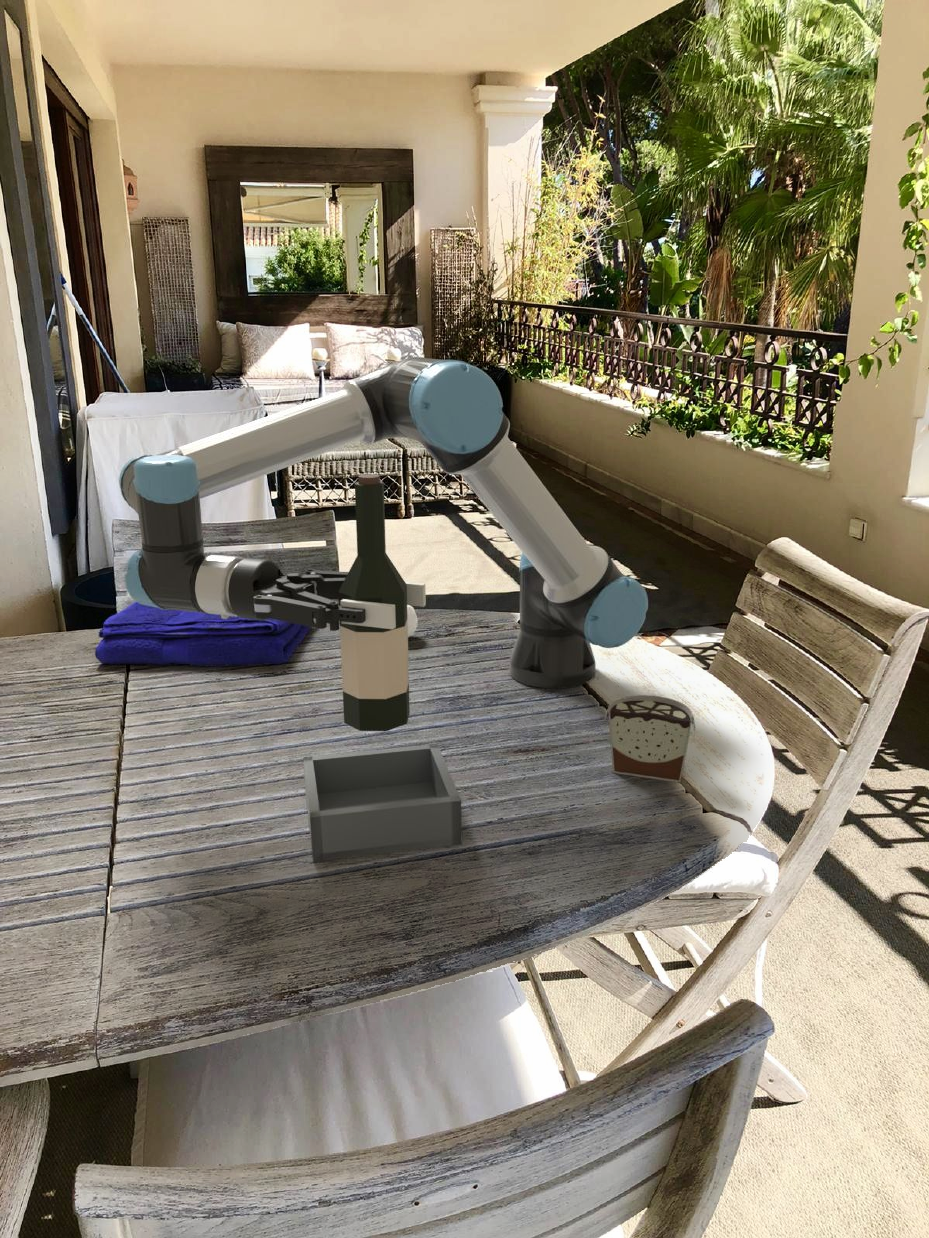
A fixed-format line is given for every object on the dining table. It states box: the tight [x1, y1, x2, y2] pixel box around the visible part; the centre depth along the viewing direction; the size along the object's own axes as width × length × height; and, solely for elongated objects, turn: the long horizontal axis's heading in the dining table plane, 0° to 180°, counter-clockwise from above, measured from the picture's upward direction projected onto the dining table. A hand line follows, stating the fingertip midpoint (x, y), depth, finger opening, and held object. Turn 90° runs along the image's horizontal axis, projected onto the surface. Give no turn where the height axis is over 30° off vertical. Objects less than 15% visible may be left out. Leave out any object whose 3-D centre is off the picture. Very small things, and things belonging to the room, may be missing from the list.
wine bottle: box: [338, 473, 411, 732], centre depth 116 cm, size 8×8×30 cm
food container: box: [603, 694, 696, 783], centre depth 137 cm, size 12×6×10 cm, turn 71°
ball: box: [407, 605, 419, 638], centre depth 190 cm, size 8×8×8 cm
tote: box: [302, 743, 463, 863], centre depth 124 cm, size 18×16×6 cm
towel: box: [94, 601, 311, 667], centre depth 188 cm, size 26×36×9 cm
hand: (409, 605), depth 115 cm, fingers closed on wine bottle, 8 cm apart
